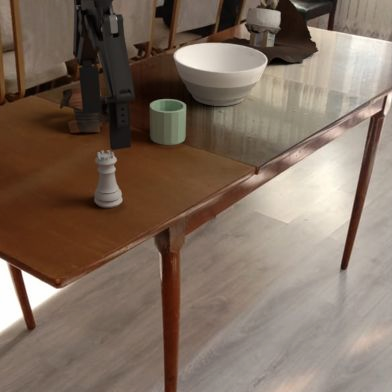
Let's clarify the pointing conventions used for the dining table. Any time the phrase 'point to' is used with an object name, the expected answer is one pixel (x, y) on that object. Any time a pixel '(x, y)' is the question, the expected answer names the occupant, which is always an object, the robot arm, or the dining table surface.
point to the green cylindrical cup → (167, 121)
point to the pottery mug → (82, 120)
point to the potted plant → (277, 32)
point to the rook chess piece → (107, 181)
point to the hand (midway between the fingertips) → (105, 129)
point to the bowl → (219, 71)
